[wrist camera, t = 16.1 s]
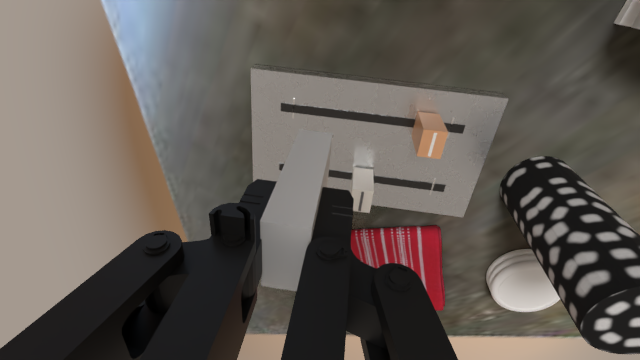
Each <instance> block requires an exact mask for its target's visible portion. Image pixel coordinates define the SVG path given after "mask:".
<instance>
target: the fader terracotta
mask: <svg viewBox="0 0 640 360" xmlns="http://www.w3.org/2000/svg"><path fill="white" fill-rule="evenodd" d="M447 135H448V131H447V129H446V126H445V124H444V122H443V120H442V118H441V116H440V114H433V113H425V112H417V116H416V120H415V124H414V128H413V132H412V140H413V144H414V148H415V151H416V155H417V156H419V157H427V158H435V159H440V158H441V155H442V152H443V149H444V145H445V142H446V139H447Z"/></svg>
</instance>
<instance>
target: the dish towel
mask: <svg viewBox="0 0 640 360" xmlns="http://www.w3.org/2000/svg"><path fill="white" fill-rule="evenodd" d="M351 249H352V251H353V253H354V255H355V256H356V257H357V258H358V259H359V260H360V261H362V262H363V263H365V264H367V265H369V266H372V267H374V268H378V267H380V266H381V265H383V264H387V263H398V264H402V265H405V266H407V267H409V268H411V269H412V270H413V271H415V272H416V273H417V274H418V276H419V277H420V279H421V280H422V282H423V284H424V286H425V289H426V291H427V293H428V295H429V297H430V300H431V302H432V304H433V306H434V308H435V310H443V306H445V289H444V281H443V275H442V240H441V229H440V227H437V225H431V226H407V227H390V228H371V229H355V230H352V231H351Z"/></svg>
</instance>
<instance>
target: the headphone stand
mask: <svg viewBox="0 0 640 360" xmlns="http://www.w3.org/2000/svg"><path fill="white" fill-rule="evenodd" d="M614 24H618V25H623V26H628V27H631V28H636V29H640V0H627V1H626V2H625V4H624V6H623V8H622V9H621V11H620V13H619V14H618V16H617V18H616V20H615V21H614Z"/></svg>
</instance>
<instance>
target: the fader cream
mask: <svg viewBox="0 0 640 360" xmlns="http://www.w3.org/2000/svg"><path fill="white" fill-rule="evenodd" d="M350 193H351V195H352V197H353V198H354V203H353V211H358V212H365V213H370V208H371V203H372V198H373V193H374V179H373V170H372V169H365V168H357V167H354V170H353V176H352V182H351V190H350Z"/></svg>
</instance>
